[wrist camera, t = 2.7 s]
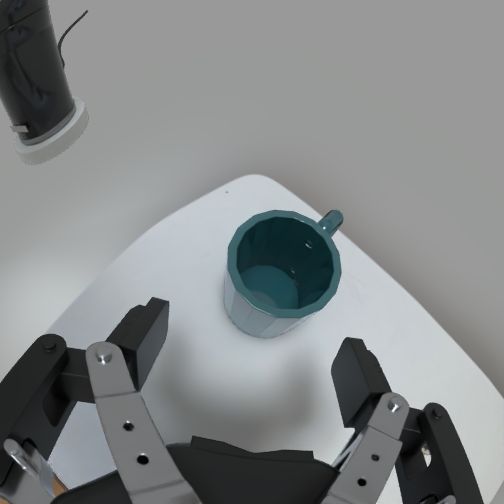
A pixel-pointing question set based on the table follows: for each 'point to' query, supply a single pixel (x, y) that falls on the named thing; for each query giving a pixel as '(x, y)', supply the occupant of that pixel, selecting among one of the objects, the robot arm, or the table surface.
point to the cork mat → (56, 486)
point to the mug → (280, 271)
